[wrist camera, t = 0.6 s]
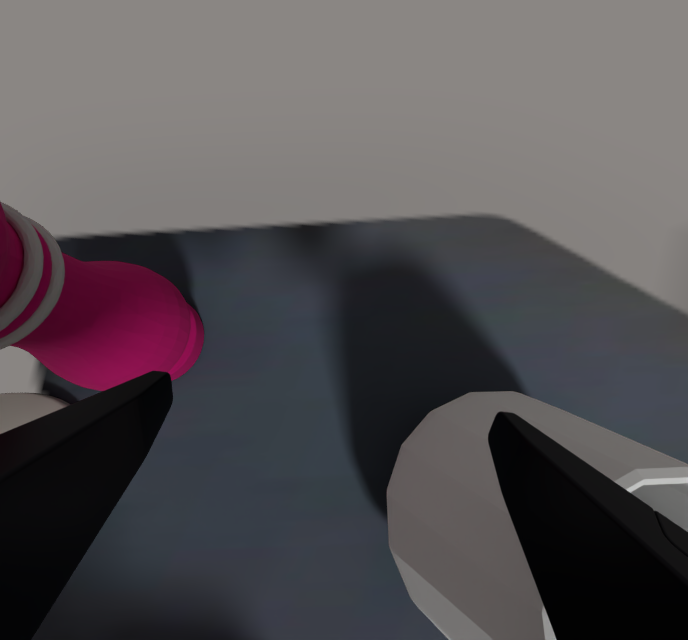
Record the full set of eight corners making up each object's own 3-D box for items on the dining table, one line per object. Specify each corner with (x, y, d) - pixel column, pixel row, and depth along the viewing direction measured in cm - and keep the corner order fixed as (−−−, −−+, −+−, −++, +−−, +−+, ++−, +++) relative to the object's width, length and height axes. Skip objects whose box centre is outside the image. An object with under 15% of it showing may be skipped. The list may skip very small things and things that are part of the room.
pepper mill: (115, 286, 24) (-820, -206, 4) (218, 293, 24) (-209, -128, 5) (93, 389, 22) (-1558, 357, 3) (204, 395, 23) (-533, 403, 3)
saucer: (102, 566, 20) (91, 575, 19) (-102, 602, 19) (-124, 613, 18) (105, 382, 22) (95, 381, 21) (-77, 405, 21) (-96, 406, 20)
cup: (358, 589, 21) (429, 961, 7) (389, 374, 24) (480, 349, 10) (566, 623, 21) (1009, 1039, 8) (570, 408, 24) (892, 426, 11)
